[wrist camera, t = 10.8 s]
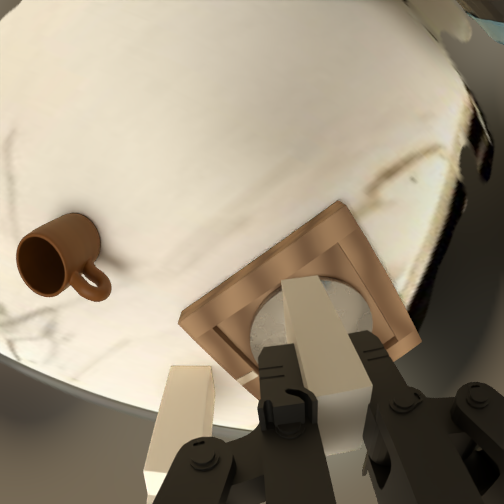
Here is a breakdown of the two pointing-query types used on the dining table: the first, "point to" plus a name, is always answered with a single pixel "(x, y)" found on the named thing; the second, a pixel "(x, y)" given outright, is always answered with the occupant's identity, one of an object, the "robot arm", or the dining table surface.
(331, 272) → the board
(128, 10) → the dining table surface
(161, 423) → the milk
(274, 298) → the dial
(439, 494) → the robot arm
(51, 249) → the mug
